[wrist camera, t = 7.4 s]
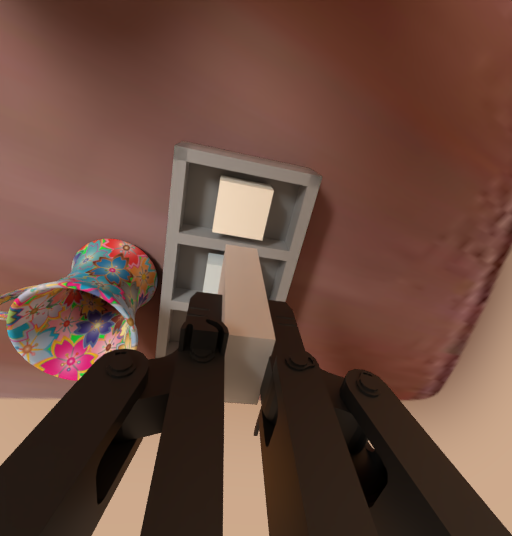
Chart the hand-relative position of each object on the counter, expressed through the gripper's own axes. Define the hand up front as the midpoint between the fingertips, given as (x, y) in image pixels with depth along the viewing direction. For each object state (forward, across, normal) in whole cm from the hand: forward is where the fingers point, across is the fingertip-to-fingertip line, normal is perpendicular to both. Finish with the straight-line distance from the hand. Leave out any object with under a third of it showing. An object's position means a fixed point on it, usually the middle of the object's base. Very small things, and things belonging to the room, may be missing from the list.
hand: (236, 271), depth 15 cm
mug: (+17, -12, -11) cm, 23 cm away
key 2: (+14, +1, 0) cm, 14 cm away
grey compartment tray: (+17, +1, -7) cm, 18 cm away
